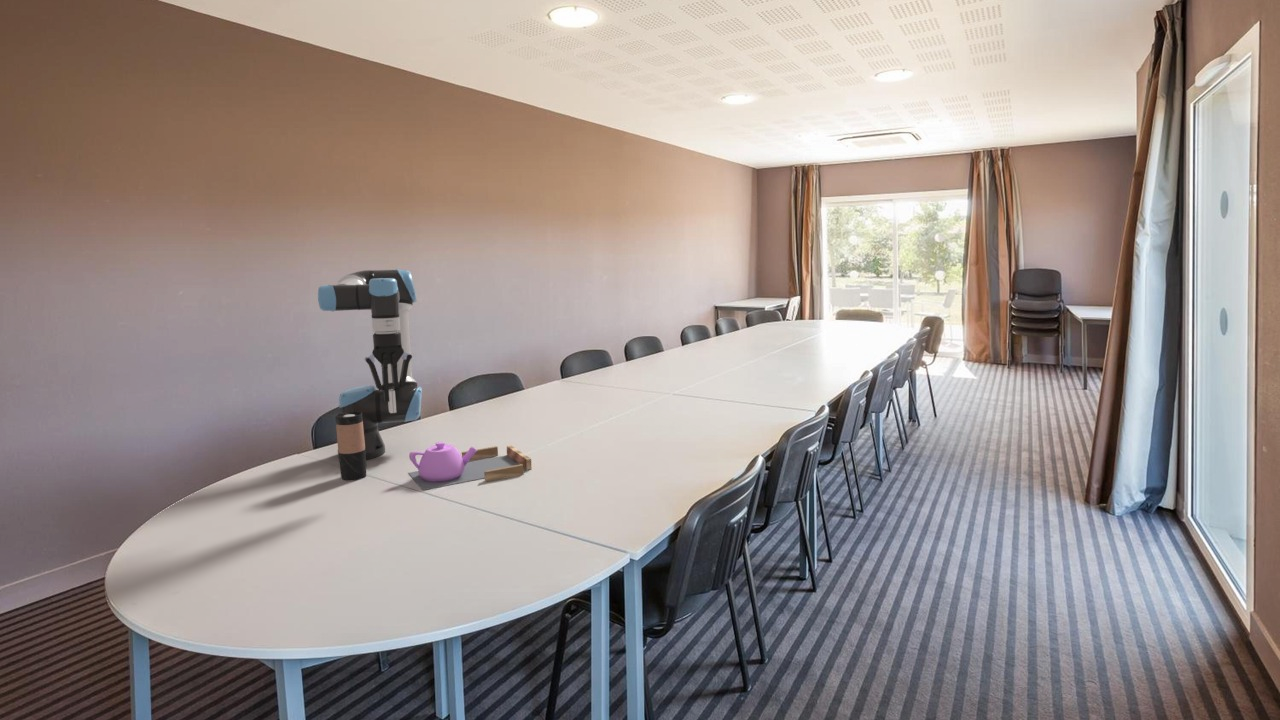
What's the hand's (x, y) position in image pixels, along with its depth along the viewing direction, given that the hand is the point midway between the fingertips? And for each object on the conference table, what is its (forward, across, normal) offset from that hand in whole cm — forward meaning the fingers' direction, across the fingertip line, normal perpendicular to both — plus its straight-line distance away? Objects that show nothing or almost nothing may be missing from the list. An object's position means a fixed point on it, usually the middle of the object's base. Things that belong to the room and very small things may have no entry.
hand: (392, 411), depth 189 cm
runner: (+22, +22, 0) cm, 31 cm away
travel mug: (+23, -10, +15) cm, 29 cm away
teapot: (+22, +14, 0) cm, 26 cm away
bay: (+22, +30, 0) cm, 37 cm away
